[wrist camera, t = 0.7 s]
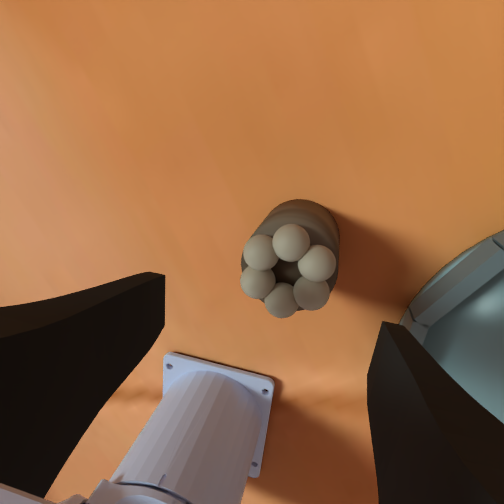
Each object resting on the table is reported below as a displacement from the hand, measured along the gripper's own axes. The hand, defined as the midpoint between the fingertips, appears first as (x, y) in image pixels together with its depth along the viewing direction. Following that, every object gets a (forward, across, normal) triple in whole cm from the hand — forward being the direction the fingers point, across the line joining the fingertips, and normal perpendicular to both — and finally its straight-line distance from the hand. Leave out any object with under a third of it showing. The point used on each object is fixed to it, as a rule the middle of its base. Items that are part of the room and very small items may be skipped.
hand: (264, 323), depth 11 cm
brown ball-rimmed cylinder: (+9, 0, 0) cm, 9 cm away
